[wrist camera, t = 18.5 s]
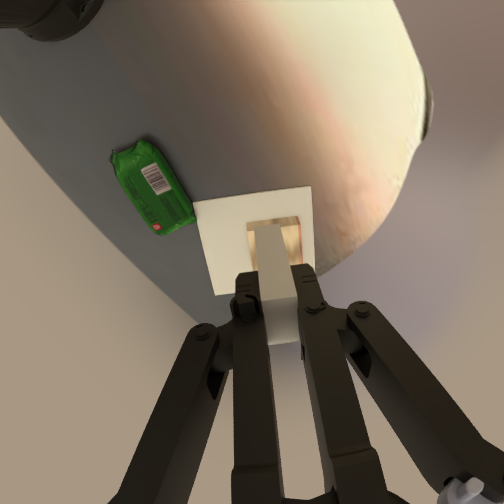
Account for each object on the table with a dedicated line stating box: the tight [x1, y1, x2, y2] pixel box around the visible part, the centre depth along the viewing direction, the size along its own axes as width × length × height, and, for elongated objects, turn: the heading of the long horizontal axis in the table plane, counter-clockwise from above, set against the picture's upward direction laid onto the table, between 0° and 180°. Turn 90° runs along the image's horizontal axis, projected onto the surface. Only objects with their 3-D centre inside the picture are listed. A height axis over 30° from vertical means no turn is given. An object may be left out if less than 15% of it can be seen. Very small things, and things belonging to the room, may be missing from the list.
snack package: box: [109, 140, 197, 235], centre depth 45 cm, size 7×16×5 cm, turn 26°
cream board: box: [193, 186, 315, 295], centre depth 53 cm, size 18×18×1 cm
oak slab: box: [246, 216, 303, 271], centre depth 52 cm, size 10×3×8 cm
